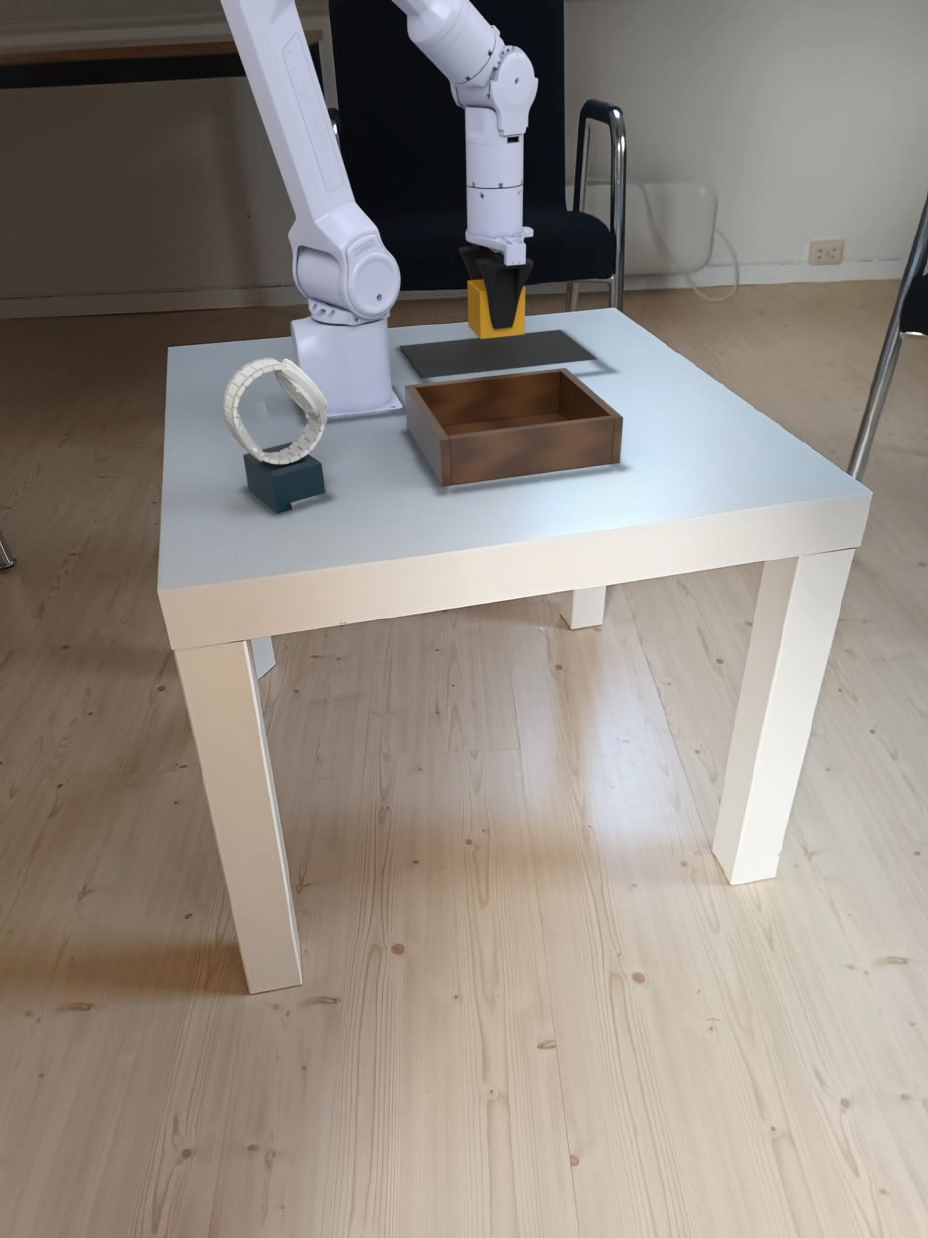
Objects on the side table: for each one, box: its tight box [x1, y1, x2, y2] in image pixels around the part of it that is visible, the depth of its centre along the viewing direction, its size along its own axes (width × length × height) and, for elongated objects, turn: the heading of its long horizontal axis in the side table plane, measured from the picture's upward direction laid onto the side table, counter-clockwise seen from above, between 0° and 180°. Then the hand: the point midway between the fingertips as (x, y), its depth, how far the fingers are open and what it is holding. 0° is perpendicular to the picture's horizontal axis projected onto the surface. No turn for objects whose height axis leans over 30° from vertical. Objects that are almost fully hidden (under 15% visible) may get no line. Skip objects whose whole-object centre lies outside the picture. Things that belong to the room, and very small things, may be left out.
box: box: [404, 367, 624, 488], centre depth 81 cm, size 16×14×5 cm
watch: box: [222, 357, 328, 514], centre depth 73 cm, size 6×8×11 cm
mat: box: [399, 329, 598, 379], centre depth 104 cm, size 20×16×1 cm
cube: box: [467, 279, 526, 339], centre depth 100 cm, size 5×5×5 cm
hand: (495, 320), depth 101 cm, fingers closed on cube, 5 cm apart
